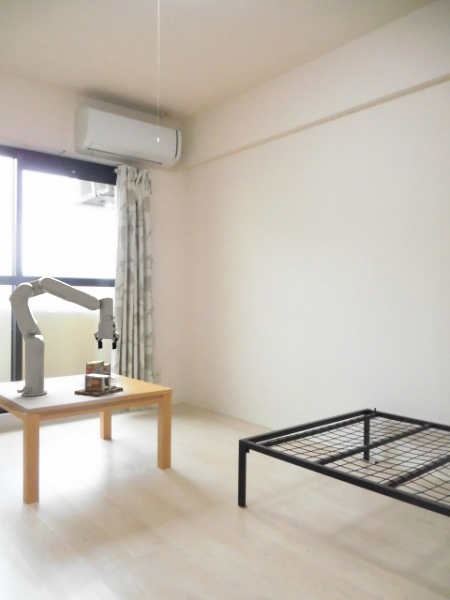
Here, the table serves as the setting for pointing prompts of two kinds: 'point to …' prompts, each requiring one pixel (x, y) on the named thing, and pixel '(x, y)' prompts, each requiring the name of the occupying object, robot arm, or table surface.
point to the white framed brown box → (99, 384)
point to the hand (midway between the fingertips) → (107, 348)
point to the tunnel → (91, 376)
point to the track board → (98, 392)
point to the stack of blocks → (98, 368)
